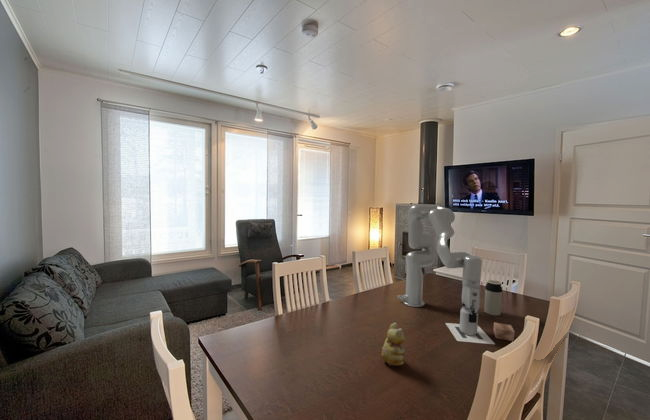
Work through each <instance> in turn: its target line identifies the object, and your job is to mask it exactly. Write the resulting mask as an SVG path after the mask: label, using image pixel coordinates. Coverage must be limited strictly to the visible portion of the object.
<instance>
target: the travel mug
mask: <svg viewBox="0 0 650 420" xmlns="http://www.w3.org/2000/svg"><path fill="white" fill-rule="evenodd" d="M502 284H503V282H502V281H499V280H495V279H487V280H486V285H485V289H484V290H485V291H484V294H485V295H484V304H483V305H484V306H483V307H484V308H483V311H484V312H485V314H488V315H490V316H495V317H496V316H500V315H501V312H502V300H503V299H502V297H503V287H502Z"/></svg>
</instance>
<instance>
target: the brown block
mask: <svg viewBox="0 0 650 420" xmlns="http://www.w3.org/2000/svg"><path fill="white" fill-rule="evenodd" d="M493 334H494V336H495V338H496V339H500V340H505V341H509V342H514V341H515V330H514V328H513V326H512V324H507V323H506V324H505V323H499V322H493ZM513 340H514V341H513Z"/></svg>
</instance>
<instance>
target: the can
mask: <svg viewBox="0 0 650 420" xmlns="http://www.w3.org/2000/svg"><path fill="white" fill-rule="evenodd" d="M471 307H472V306H471ZM473 310H474V309H472V311H473ZM459 313H460V315H459V324H460V328H459V329H460V331H461V332H462V333H464V334H466V335H471V336H472V335H475V334H477V326H479V325H478V323H479V312H478V313H477V321H476V323H471V322H469V313H470V310H469V308H468V307H467V306H462V309H461V308H460V312H459Z"/></svg>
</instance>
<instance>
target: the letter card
mask: <svg viewBox="0 0 650 420" xmlns="http://www.w3.org/2000/svg"><path fill="white" fill-rule="evenodd" d="M445 325H446V327H447V328H448V329H449V331H450V332H451V334H452V335H453V337H454V339H455V340H456V341H457V342H464V343H474V344H475V343H476V344H486V345H496V343H495V342H494V341H493V340H492V339H491V337H489V335H488V334H487V333H486V332H485V331H484V330H483V329H482V328H481V327H480V325H478V326H477V334H475V335H472V336H471V335H466V334H464V333H462V332H461V331H460V329H459V328H460V323H452V322H451V323H450V322H445Z"/></svg>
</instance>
